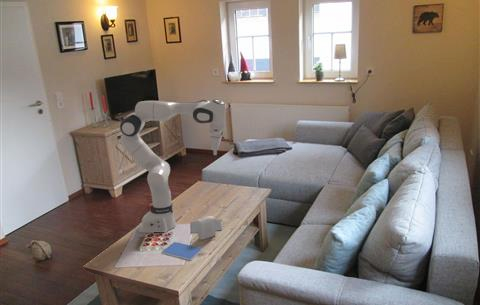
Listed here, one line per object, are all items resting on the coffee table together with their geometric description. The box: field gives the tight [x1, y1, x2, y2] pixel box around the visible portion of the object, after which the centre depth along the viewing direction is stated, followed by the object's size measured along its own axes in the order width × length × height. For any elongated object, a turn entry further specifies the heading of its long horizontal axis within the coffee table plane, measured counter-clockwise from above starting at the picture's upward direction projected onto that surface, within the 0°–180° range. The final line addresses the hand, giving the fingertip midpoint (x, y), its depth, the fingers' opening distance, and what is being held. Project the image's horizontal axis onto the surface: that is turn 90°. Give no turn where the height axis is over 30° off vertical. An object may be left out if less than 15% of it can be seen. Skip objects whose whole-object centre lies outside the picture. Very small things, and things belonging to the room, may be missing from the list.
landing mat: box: [190, 218, 223, 234], centre depth 239 cm, size 18×14×1 cm
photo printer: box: [197, 215, 216, 241], centre depth 225 cm, size 10×4×12 cm, turn 123°
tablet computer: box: [161, 241, 204, 261], centre depth 213 cm, size 19×13×1 cm, turn 63°
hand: (216, 151), depth 228 cm, fingers open, 8 cm apart
